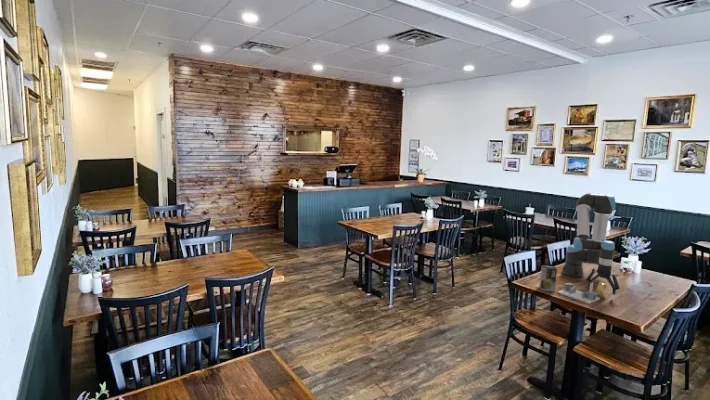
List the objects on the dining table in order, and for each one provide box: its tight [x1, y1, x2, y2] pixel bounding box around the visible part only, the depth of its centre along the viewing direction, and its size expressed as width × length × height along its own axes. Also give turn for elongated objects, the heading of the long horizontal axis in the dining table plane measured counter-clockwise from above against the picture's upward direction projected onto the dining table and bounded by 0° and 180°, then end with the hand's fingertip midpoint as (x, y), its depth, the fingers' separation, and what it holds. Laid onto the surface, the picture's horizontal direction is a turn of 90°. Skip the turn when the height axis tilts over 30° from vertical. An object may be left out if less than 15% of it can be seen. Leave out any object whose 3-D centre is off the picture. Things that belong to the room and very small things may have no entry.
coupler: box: [596, 281, 608, 299], centre depth 259 cm, size 5×5×9 cm
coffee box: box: [539, 264, 558, 292], centre depth 268 cm, size 9×6×16 cm
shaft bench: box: [557, 282, 601, 305], centre depth 258 cm, size 20×14×6 cm
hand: (600, 295), depth 259 cm, fingers open, 12 cm apart
